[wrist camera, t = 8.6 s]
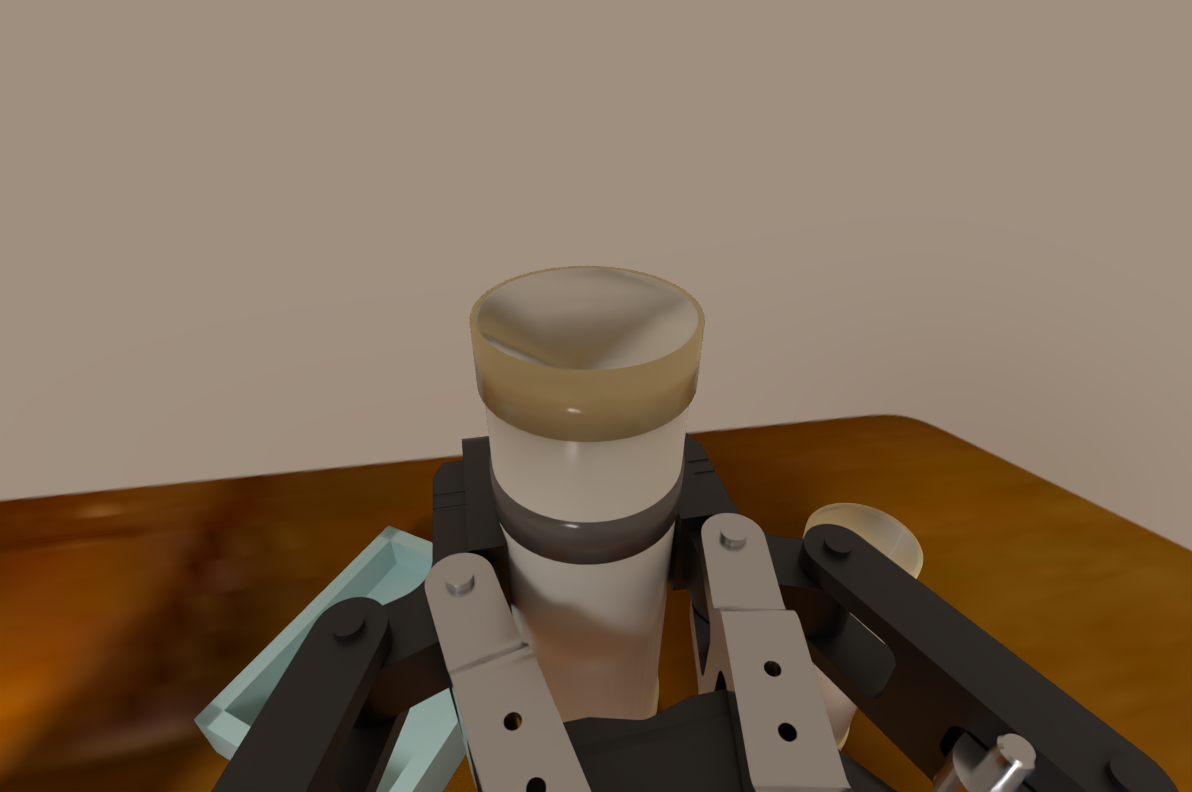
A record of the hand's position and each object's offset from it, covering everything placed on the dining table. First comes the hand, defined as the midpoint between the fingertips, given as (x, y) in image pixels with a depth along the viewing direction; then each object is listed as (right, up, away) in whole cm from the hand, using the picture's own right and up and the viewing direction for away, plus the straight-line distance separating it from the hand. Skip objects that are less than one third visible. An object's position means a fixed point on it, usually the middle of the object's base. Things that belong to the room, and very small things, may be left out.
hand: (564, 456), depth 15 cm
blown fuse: (+1, -7, +2) cm, 7 cm away
